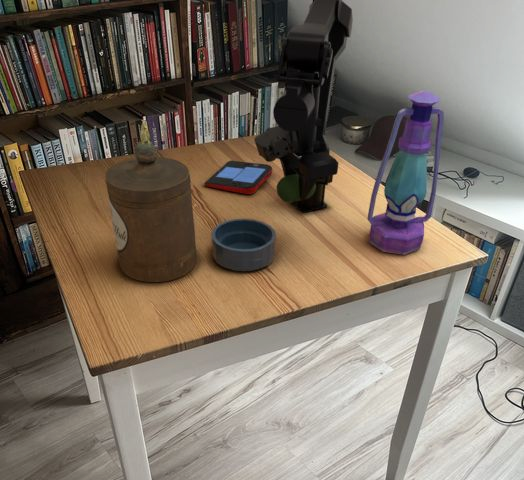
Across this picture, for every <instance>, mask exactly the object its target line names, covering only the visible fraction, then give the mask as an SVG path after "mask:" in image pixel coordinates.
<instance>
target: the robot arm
mask: <svg viewBox="0 0 524 480" xmlns="http://www.w3.org/2000/svg"><path fill="white" fill-rule="evenodd" d="M353 20H354V19H353V9H352V7H350V6H349V5H348V4H346V3H345V2H344V1H343V0H312V2H311V3H310V5H309V8H308V12H307V15H306V17H305V19H304V21H303V23H302V24H299V25H295V26H293V27H292V28H291V29H290V30H289V32H288V33H287V35H286V37H284V38H283V40H282V45H281V52H280V57H279V62H278V68H277V75H276V82H282V83H285V85H284V91H283V92H282V94H281V95H280V97H279V98H278V99H277V100H276V102H275V104H274V107H273V110H272V115H273V119H274V121H275V123H276V126H272V127H267V128H266V129H265V131H263V132H262V133H260V134H258V135H256V136H255V137H254V139H253V140H254V144H255V146H256V149H257V152H258V155H259V156H260V157H261V158H263V159H264V161H266V162H267V163H271V162H273V161H275V160H279V162H280V165H281V168H282V172H283V177H285V176H288V175H293V174H298V175H299V194H300V199H301V200H299V201H294V202H291V203H292V204H293V205H294V206H295V207H296V208H297V209H298V210H300V212H302V213H308V212H314V211H318V210H323V209H327V208H328V204H327V203H326V202H325V192H326V187H327V186H328V185H329V184H331V183H333V180H334V176H336V175H337V174H338V171H339V165H340V164H339V161H338V160H337V159H336V158H335V157H334V156H332V155H331V154H330V151H331V149H330V146H329V144H328V141H327V137H326V129H327V124H328V123H327V122H328V117H329V109H330V103H331V96H332V90H333V83H334V75H335V70H336V63H337V60H338V59H339V57H340V56H341V55H342V54H343V52H344V51H345V49H346V47H347V42H348V38H351V35H352V30H353ZM315 183H316V189H315V192H314V194H313V195H312V196H311V197H309V198H308V199H306V198H307V196H308V195H309V193H310V191H311V190H312V188H313V186H314V185H315Z"/></svg>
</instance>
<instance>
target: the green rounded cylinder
mask: <svg viewBox="0 0 524 480" xmlns="http://www.w3.org/2000/svg"><path fill="white" fill-rule="evenodd" d="M315 189H316V183H315V185H314V186H313V188H312V190H311V191H310V193H309V195H308V196H307V198H306V199H308V198H309V197H311V196H312V195H313V194H314V192H315ZM276 193H277V196H278V197H279V199H281V200H282V201H283V202H285V203H292V202H294V201H299V200H301V199H300V194H299V175H298V174H293V175H288V176H285V177H284V176H283V177H281V178H280V179H279V181H278V182H277V184H276Z"/></svg>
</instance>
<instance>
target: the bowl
mask: <svg viewBox="0 0 524 480" xmlns="http://www.w3.org/2000/svg"><path fill="white" fill-rule="evenodd" d="M210 237H211V238H210V239H211V255H212V259H213V260H214V261H215V263H216V264H218V265H219V266H221V267H222V268H225V269H228V270H230V271H237V272H250V271H251V272H252V271H256V270H260V269H263V268H265V267H267V266H269V265H270V264H271V263H272V262H273V261H274V260H275V256H276V247H277V246H276V245H277V233H276V230H275V229H274V228H273V227H272V226H271V225H270V224H269V223H266V222H264V221H261V220H258V219H253V218H233V219H227V220H225V221H223V222H221V223H218V224H217V225H216V226H214V227H213V229H212V231H211V233H210Z"/></svg>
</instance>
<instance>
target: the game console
mask: <svg viewBox="0 0 524 480" xmlns="http://www.w3.org/2000/svg"><path fill="white" fill-rule="evenodd" d="M272 174H273V167H272V165H270V164H267V163H259V162H258V163H256V162H248V161H241V160H239V161H238V160H229V161H226V163H225V164H224V165H223V166H221V168H219V169H217V170H216V172H215V173H214V174H212V176H210V177H209V178H208V179H207V180H206V181H205V182H204V185H205V186H206V187H207V188H212V189H216V190H222V191H227V192H232V193H238V194H242V195H252V194H254V193H255V192H257V190H258V189H259V188H260V187H261V186H262V185H263V184H264V183H265V182H266V181H267V180H268V179H269V178H270V177H271V176H272Z"/></svg>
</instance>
